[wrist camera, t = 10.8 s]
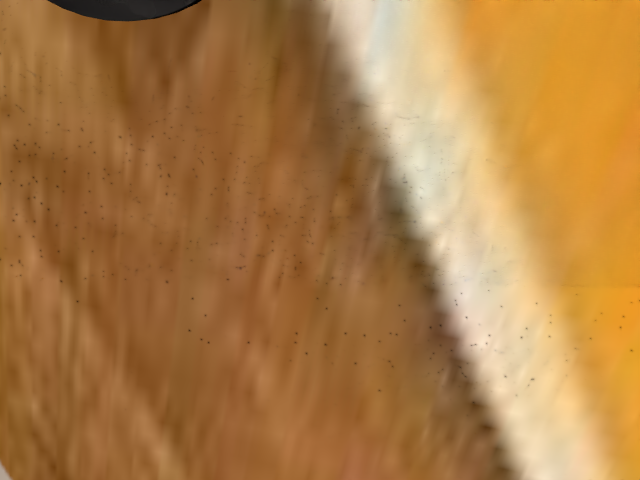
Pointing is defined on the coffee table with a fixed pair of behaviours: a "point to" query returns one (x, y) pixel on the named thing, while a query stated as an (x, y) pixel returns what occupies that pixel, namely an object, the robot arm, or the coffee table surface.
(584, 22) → the coffee table surface
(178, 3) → the collar stand
